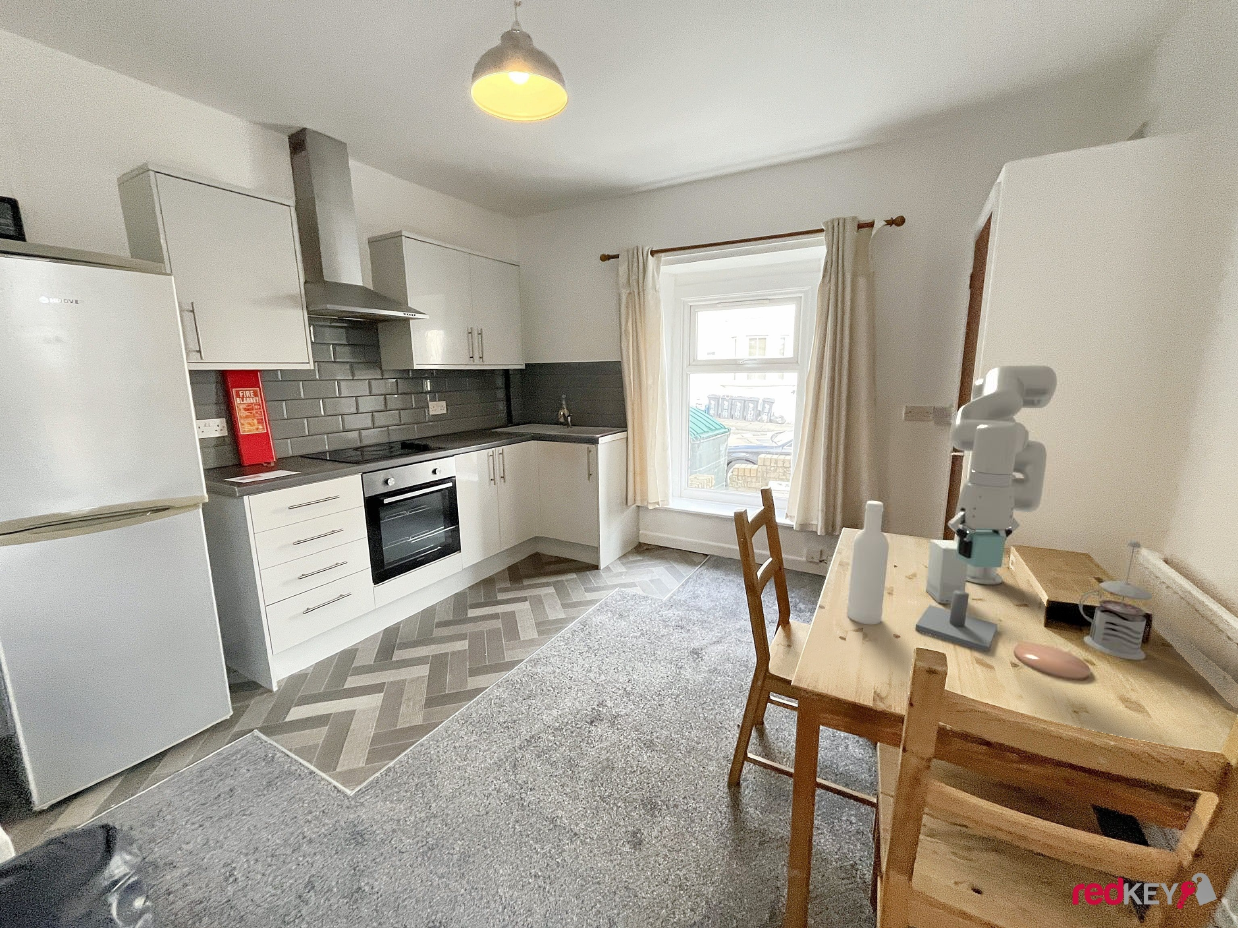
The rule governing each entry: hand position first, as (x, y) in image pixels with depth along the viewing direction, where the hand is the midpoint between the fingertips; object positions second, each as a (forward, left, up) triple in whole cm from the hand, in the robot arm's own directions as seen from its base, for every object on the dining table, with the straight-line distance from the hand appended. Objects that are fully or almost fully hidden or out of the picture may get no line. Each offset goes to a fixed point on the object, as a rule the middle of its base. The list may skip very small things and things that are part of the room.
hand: (978, 555), depth 109 cm
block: (0, 0, -2) cm, 2 cm away
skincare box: (-18, -8, -20) cm, 28 cm away
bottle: (+9, -20, -20) cm, 30 cm away
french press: (-16, +24, -20) cm, 35 cm away
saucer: (+2, +15, -20) cm, 25 cm away
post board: (0, -2, -20) cm, 20 cm away
